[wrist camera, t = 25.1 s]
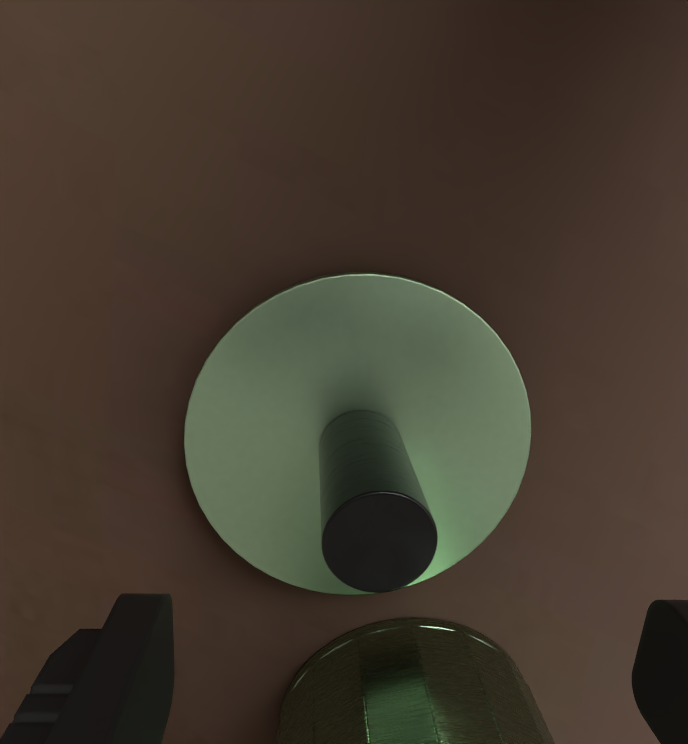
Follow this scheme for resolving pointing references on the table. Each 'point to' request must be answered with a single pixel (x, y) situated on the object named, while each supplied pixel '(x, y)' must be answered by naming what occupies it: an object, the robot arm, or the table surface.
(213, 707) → the table surface
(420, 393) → the bin lid
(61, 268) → the table surface
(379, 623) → the trash can
